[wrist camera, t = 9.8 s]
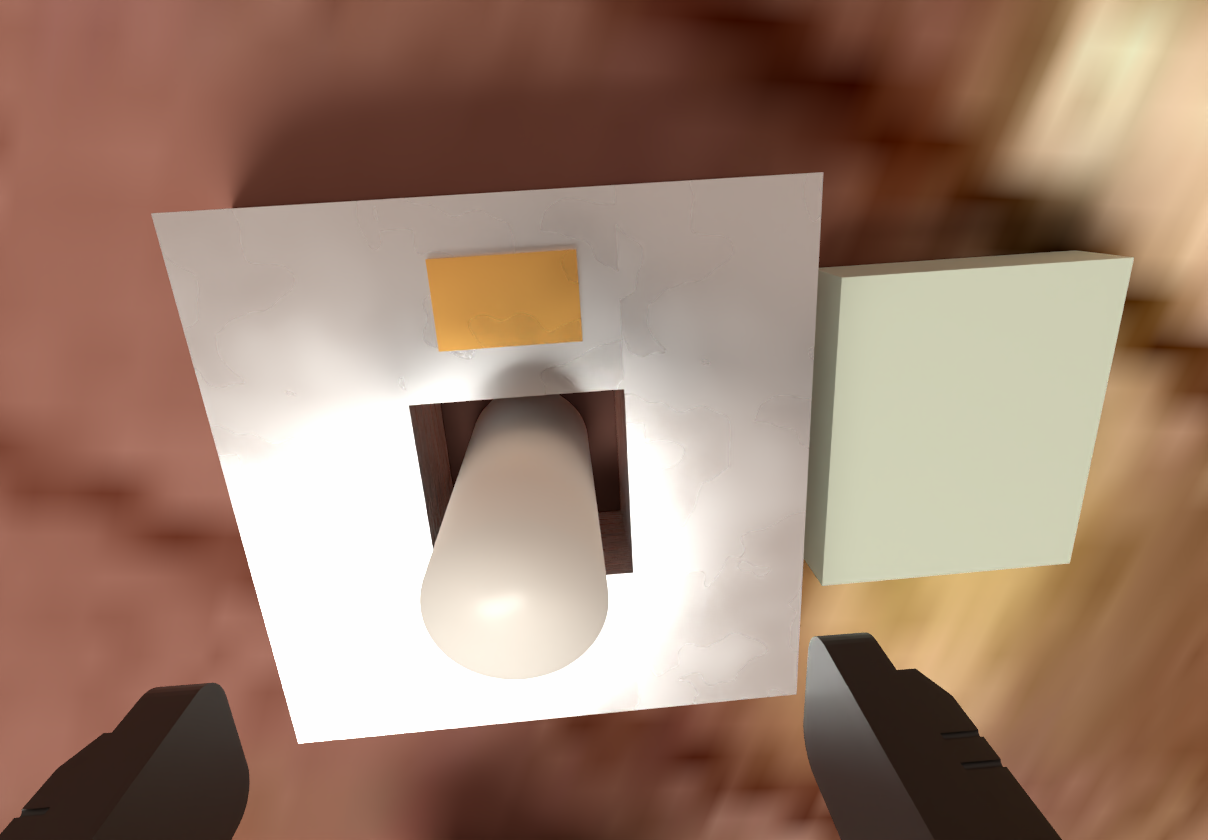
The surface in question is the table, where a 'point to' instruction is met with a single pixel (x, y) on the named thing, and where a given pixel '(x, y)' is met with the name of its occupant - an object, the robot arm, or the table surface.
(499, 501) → the peg
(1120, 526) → the table surface
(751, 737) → the table surface
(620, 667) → the flange
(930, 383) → the square base plate
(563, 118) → the table surface
